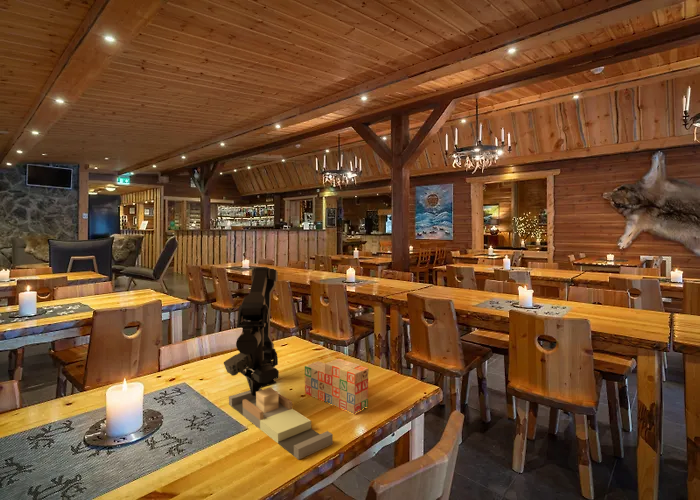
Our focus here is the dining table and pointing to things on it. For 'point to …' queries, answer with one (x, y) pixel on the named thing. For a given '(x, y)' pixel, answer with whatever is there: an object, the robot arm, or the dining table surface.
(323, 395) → the stack of blocks
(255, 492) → the dining table surface
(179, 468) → the dining table surface
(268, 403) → the maple block
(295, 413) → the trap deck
